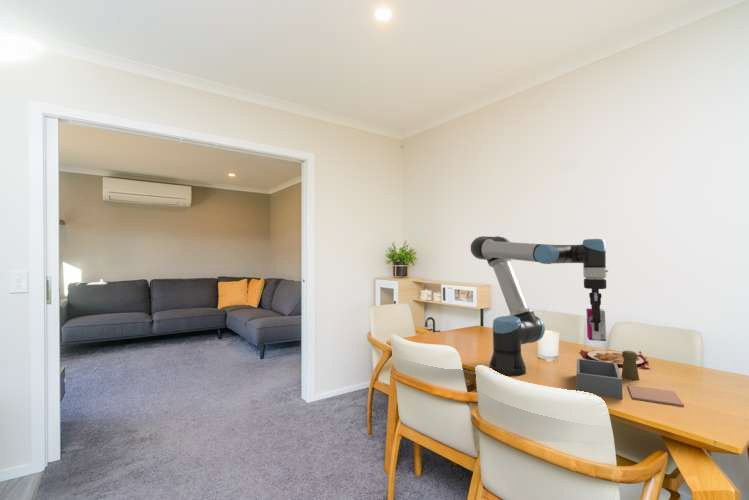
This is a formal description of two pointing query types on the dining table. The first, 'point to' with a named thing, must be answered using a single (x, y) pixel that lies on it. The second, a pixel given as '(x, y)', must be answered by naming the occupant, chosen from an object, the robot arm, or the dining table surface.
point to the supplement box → (602, 324)
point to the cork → (629, 366)
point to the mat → (654, 395)
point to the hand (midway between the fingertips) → (596, 337)
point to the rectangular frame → (599, 378)
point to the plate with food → (613, 357)
